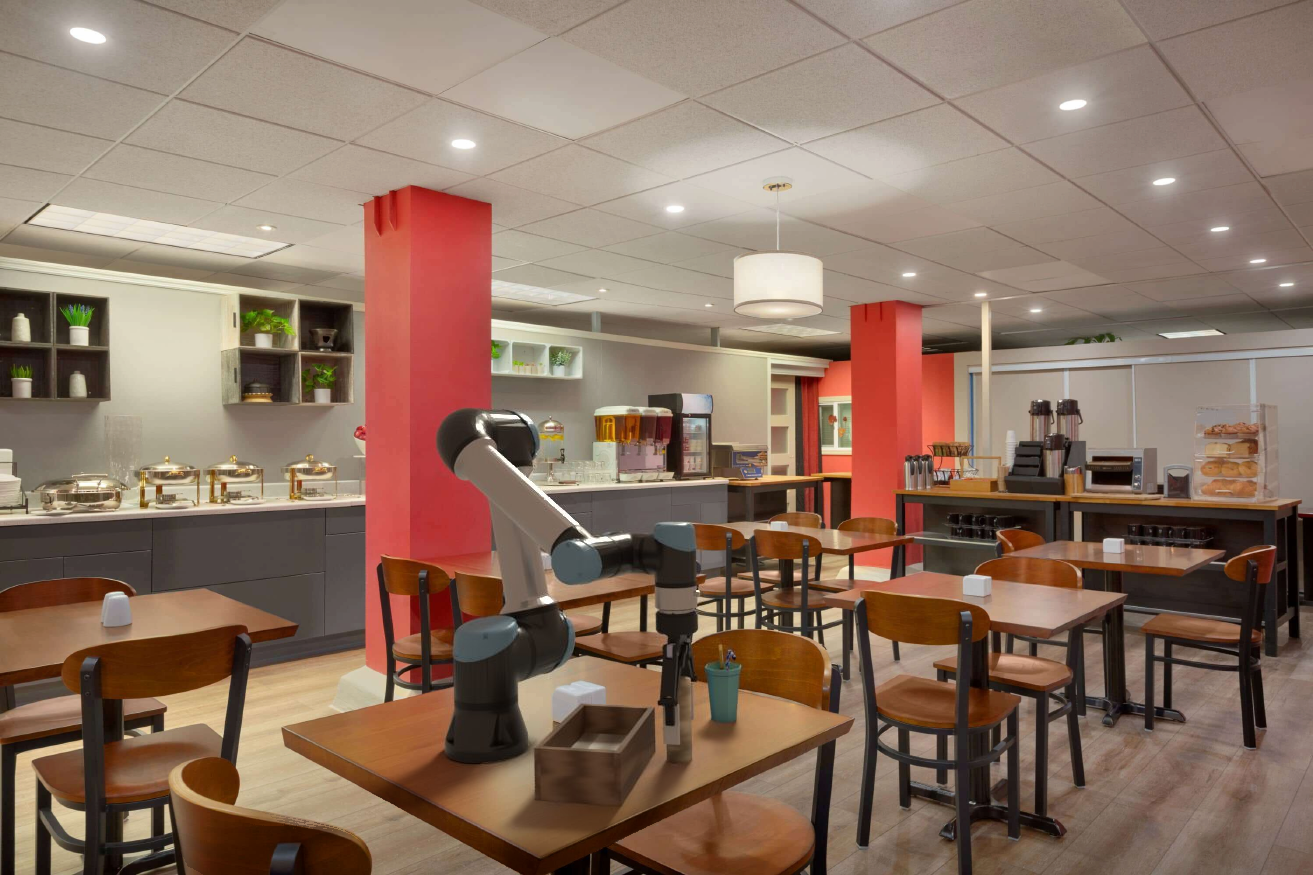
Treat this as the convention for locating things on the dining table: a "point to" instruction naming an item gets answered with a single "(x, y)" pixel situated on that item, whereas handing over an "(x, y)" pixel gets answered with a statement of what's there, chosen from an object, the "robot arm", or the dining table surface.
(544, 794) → the crate
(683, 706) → the peg
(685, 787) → the dining table surface
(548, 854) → the dining table surface
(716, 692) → the cup
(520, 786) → the dining table surface
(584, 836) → the dining table surface
